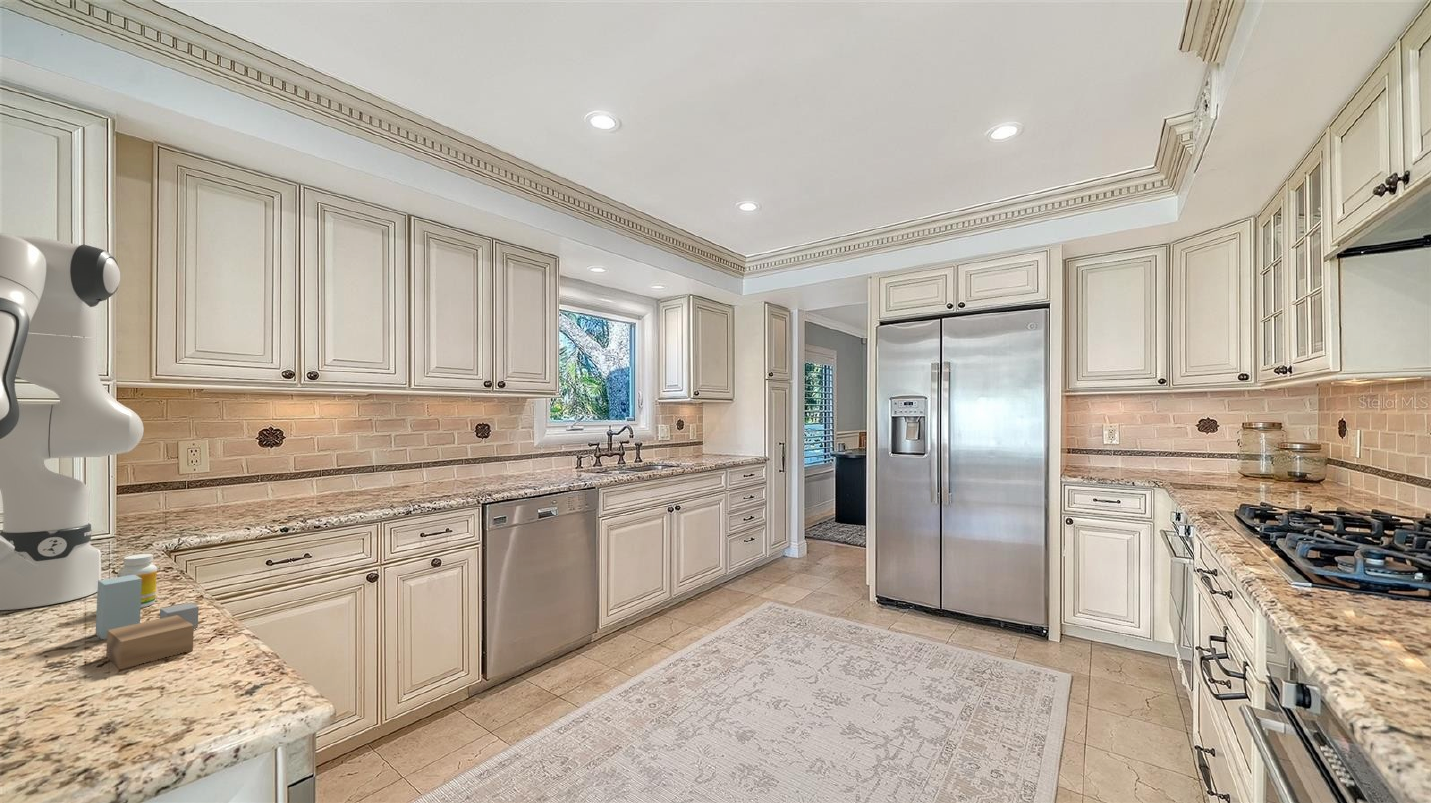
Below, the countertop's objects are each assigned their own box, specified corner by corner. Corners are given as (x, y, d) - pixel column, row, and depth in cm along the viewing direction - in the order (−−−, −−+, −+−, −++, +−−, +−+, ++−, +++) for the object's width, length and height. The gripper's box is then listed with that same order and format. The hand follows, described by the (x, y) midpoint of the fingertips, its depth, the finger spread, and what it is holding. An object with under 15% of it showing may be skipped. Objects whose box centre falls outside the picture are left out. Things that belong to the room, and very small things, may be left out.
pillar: (95, 633, 95) (98, 580, 95) (132, 626, 99) (134, 574, 99) (102, 639, 93) (104, 584, 93) (139, 631, 96) (141, 578, 97)
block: (159, 632, 96) (160, 608, 96) (189, 625, 100) (190, 602, 100) (166, 637, 94) (167, 613, 94) (197, 629, 97) (198, 606, 98)
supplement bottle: (107, 610, 106) (109, 559, 106) (136, 601, 111) (138, 552, 112) (135, 610, 106) (137, 559, 106) (163, 601, 111) (165, 553, 112)
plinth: (106, 656, 86) (107, 630, 86) (176, 639, 93) (177, 615, 93) (120, 669, 82) (121, 641, 82) (192, 650, 89) (193, 625, 89)
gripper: (-44, 500, 76) (63, 558, 84) (-59, 488, 87) (37, 541, 95) (-104, 539, 72) (14, 596, 80) (-112, 522, 83) (-8, 574, 91)
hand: (26, 566), depth 87 cm, fingers open, 8 cm apart
